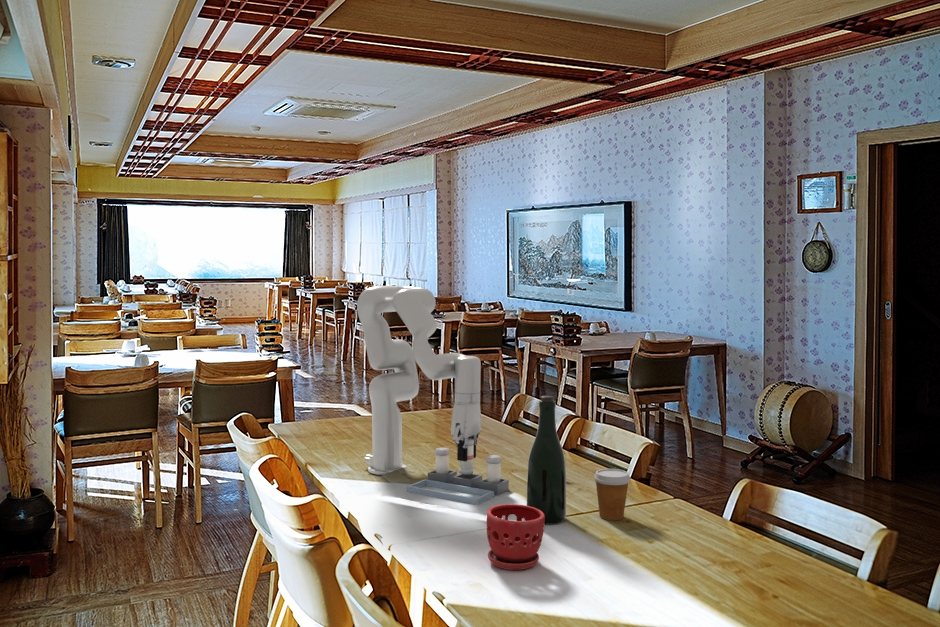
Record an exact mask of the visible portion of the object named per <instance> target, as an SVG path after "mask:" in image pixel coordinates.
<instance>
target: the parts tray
mask: <svg viewBox="0 0 940 627" xmlns="http://www.w3.org/2000/svg"><path fill="white" fill-rule="evenodd" d="M424 486H428V487H433V488H438V489H443V490H450V491H454V492H461V493H467V494H472V495H478V497H475V496H474V497H473V496H468V495H463V494H457V493H451V492H446V491H440V490H434V489H430V488H424ZM406 492H408V493H413V494H419V495H423V496H428V497H433V498H434V497H435V498H440V499H445V500H451V501H454V502H455V501H456V502H461V503H467V504H473V505H477V506H479V505H480V504H482V503H484V502H486V501H488V500H490V499H492V498H494V497H495V496H494V491H489V490H484V489H478V488H472V487H466V486H461V485H455V484H449V483H444V482H438V481H432V480H428V479H426V478H425V479H422V480H420V481H417V482H414V483H412V484H408V485H407V486H406Z"/></svg>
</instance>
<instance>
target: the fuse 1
mask: <svg viewBox="0 0 940 627" xmlns="http://www.w3.org/2000/svg"><path fill="white" fill-rule="evenodd" d="M434 455H435V470H436V474H441V475H446V474H449V470H450V448H449V447H437V448H435V449H434Z"/></svg>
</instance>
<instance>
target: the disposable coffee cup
mask: <svg viewBox="0 0 940 627" xmlns="http://www.w3.org/2000/svg"><path fill="white" fill-rule="evenodd" d="M593 478H594V480H595V481H594V482H595V485H596V486H595V487H596V495H597V496H596V497H597V503H598V504H597V505H598V513H599V517H600V518H601V519H603V520H606V521H620V520H623V519H624V516H625V508H626V502H627V501H626V500H627V495H628V488H629V487H628V486H629V482H630V481H631V477H630V475H629V472H628V471H627V470H626V471H625V470H623V469H619V468H617V469H616V468H603V469H598V470H596V471H595V474H594V477H593Z"/></svg>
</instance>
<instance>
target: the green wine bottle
mask: <svg viewBox="0 0 940 627" xmlns="http://www.w3.org/2000/svg"><path fill="white" fill-rule="evenodd" d="M556 406H557V405H556V401H555V398H554V396H553V395H541V397H540V400H539V403H538V412H539V413H538V425H537V431H536V435H535V438H534V441H533V443H532V446H531V448H530V451H529V453H528V454H529V455H528V459H527V461H528V462H527V479H526V481H527V482H526V485H527V487H526V506H530V507H534V508H536V509H539V510H540V511H542V512H543V513H544V516H545V521H544V525H556V524H560V523H562V522H564V521H565V520H566V518H567V468H566V465H567V464H566V457H565V453H564V449H563V446H562V444H561V442H560V438H559V436H558V432H557V423H556Z"/></svg>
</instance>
